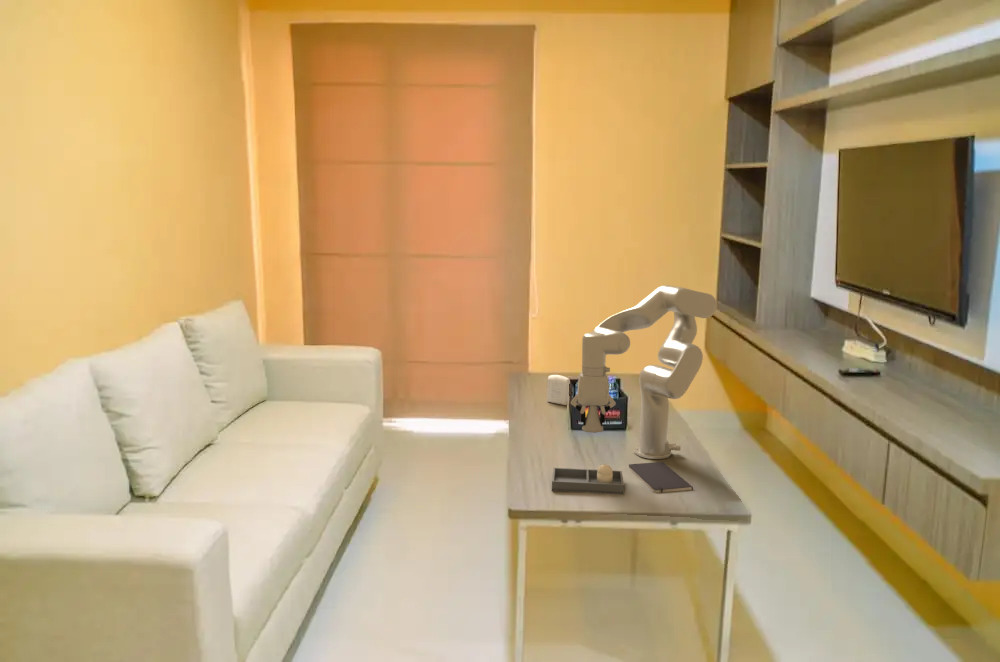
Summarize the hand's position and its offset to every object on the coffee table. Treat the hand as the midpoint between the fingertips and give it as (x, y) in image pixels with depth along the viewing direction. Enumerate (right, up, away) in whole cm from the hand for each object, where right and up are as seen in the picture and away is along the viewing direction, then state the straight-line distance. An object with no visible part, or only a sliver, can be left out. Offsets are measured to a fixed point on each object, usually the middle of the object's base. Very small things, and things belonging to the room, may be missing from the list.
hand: (592, 423), depth 235 cm
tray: (-3, -18, -11) cm, 21 cm away
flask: (0, -2, 0) cm, 2 cm away
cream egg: (+2, -17, -12) cm, 21 cm away
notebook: (+21, -18, -5) cm, 27 cm away
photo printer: (-5, -1, +76) cm, 77 cm away
